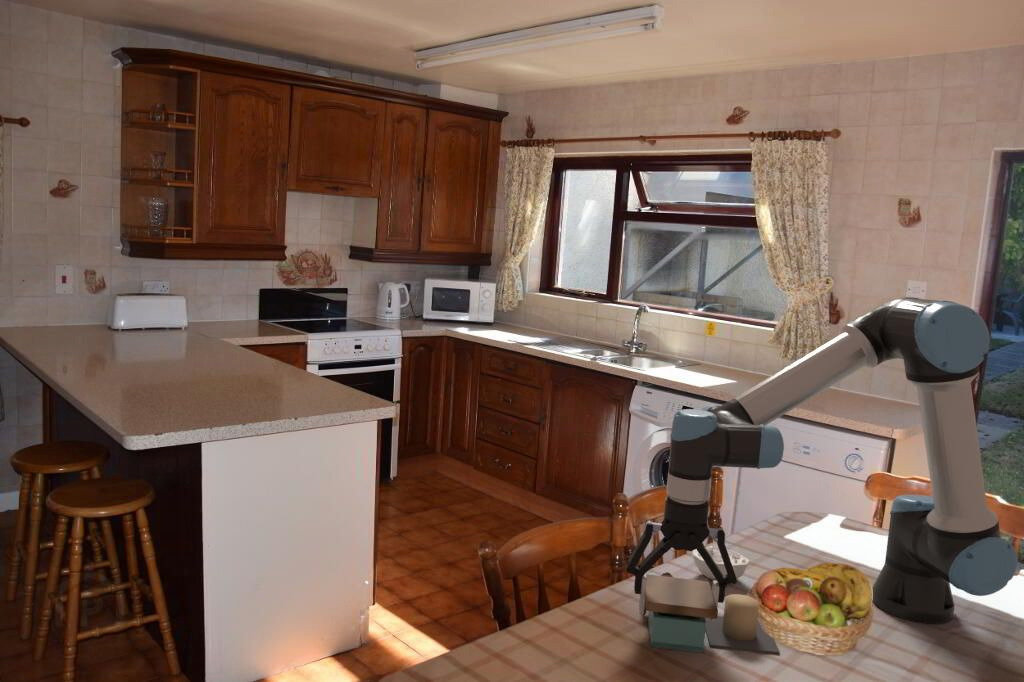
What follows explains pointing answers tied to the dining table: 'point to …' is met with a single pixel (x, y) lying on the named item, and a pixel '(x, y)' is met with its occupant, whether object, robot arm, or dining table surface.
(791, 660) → the dining table surface
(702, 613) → the lid
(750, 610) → the mat stand
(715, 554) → the cell model
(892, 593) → the robot arm
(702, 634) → the teal open box
